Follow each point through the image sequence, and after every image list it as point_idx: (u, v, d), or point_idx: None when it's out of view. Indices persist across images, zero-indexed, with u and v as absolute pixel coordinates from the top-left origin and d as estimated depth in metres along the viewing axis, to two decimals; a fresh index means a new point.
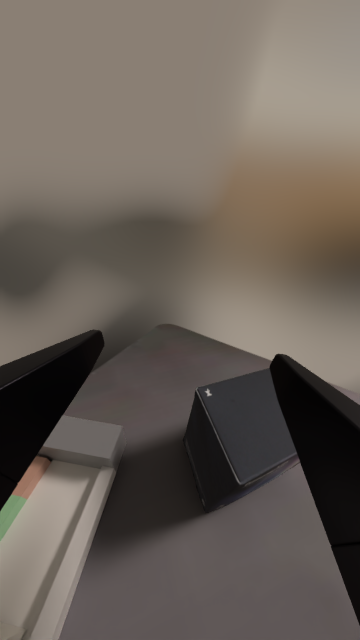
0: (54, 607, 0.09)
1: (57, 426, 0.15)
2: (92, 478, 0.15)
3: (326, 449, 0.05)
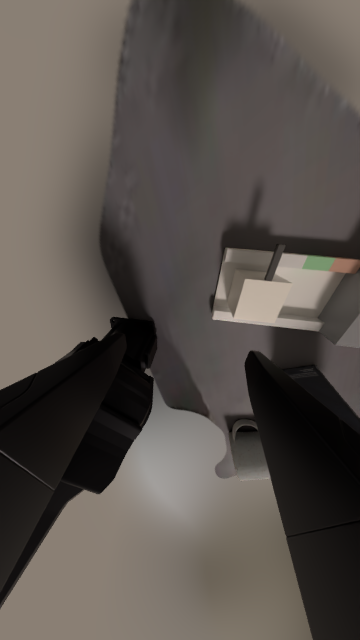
0: None
1: None
2: (314, 311, 0.18)
3: (284, 442, 0.05)
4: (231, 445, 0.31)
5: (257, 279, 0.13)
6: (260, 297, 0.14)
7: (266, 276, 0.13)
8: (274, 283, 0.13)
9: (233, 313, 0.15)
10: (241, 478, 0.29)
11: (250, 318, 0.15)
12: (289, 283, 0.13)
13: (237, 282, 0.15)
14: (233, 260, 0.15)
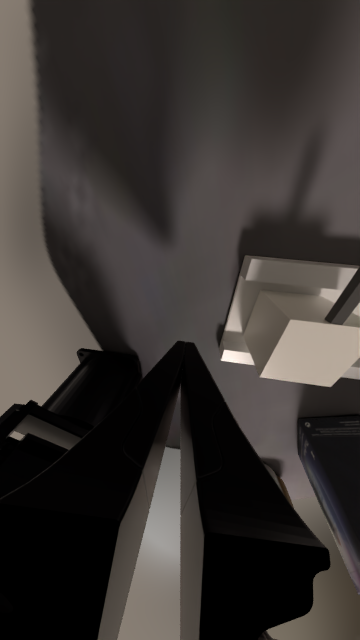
0: None
1: None
2: None
3: (184, 425, 0.05)
4: None
5: (312, 319, 0.07)
6: (314, 350, 0.07)
7: (332, 315, 0.07)
8: (347, 329, 0.07)
9: (258, 367, 0.09)
10: None
11: (289, 378, 0.09)
12: None
13: (266, 315, 0.09)
14: (260, 278, 0.09)
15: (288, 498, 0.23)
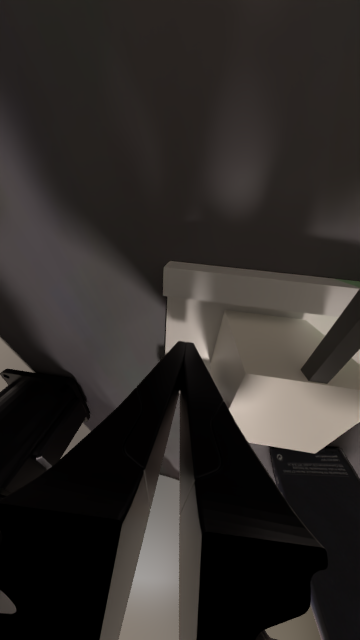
0: None
1: None
2: None
3: (183, 425, 0.05)
4: None
5: (281, 372, 0.04)
6: (286, 412, 0.05)
7: (311, 368, 0.04)
8: (335, 390, 0.04)
9: None
10: None
11: (257, 441, 0.06)
12: None
13: (226, 348, 0.06)
14: (181, 294, 0.06)
15: None
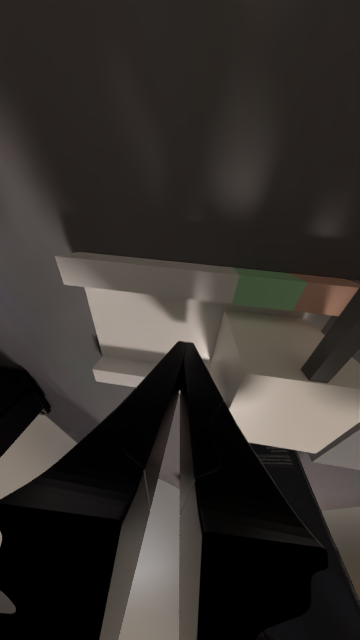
0: None
1: None
2: None
3: (183, 425, 0.05)
4: None
5: (282, 371, 0.04)
6: (287, 413, 0.05)
7: (311, 368, 0.04)
8: (335, 390, 0.04)
9: None
10: None
11: (257, 441, 0.06)
12: None
13: (226, 348, 0.06)
14: (80, 282, 0.07)
15: None
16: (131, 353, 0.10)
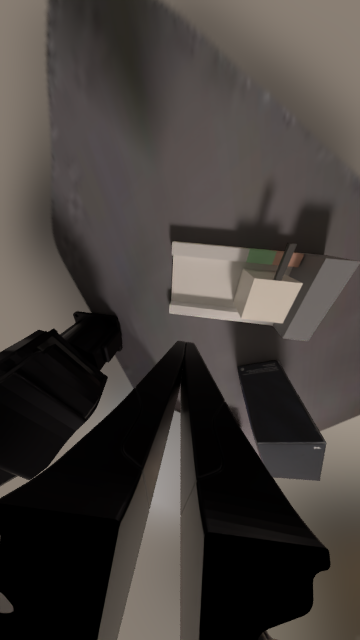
0: (220, 315, 0.18)
1: (333, 282, 0.13)
2: None
3: (184, 426, 0.05)
4: None
5: (266, 279, 0.13)
6: (269, 297, 0.13)
7: (276, 276, 0.13)
8: (283, 283, 0.13)
9: (240, 313, 0.15)
10: None
11: (258, 318, 0.15)
12: (299, 282, 0.13)
13: (244, 281, 0.15)
14: (179, 253, 0.15)
15: None
16: (188, 297, 0.19)
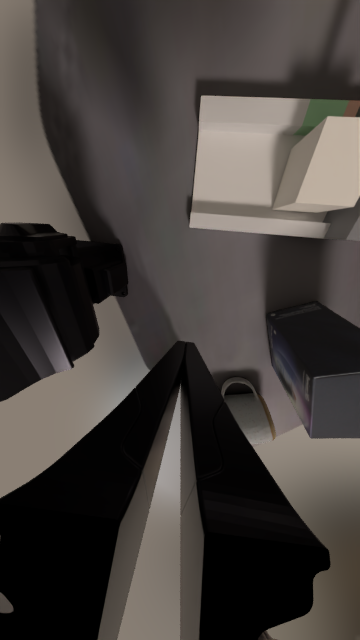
0: (256, 226, 0.14)
1: None
2: (318, 212, 0.14)
3: (183, 426, 0.05)
4: None
5: (344, 120, 0.09)
6: (343, 155, 0.09)
7: None
8: None
9: (293, 198, 0.11)
10: None
11: (320, 200, 0.11)
12: None
13: (299, 154, 0.11)
14: (210, 118, 0.11)
15: (264, 403, 0.25)
16: (214, 207, 0.15)
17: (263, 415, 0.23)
